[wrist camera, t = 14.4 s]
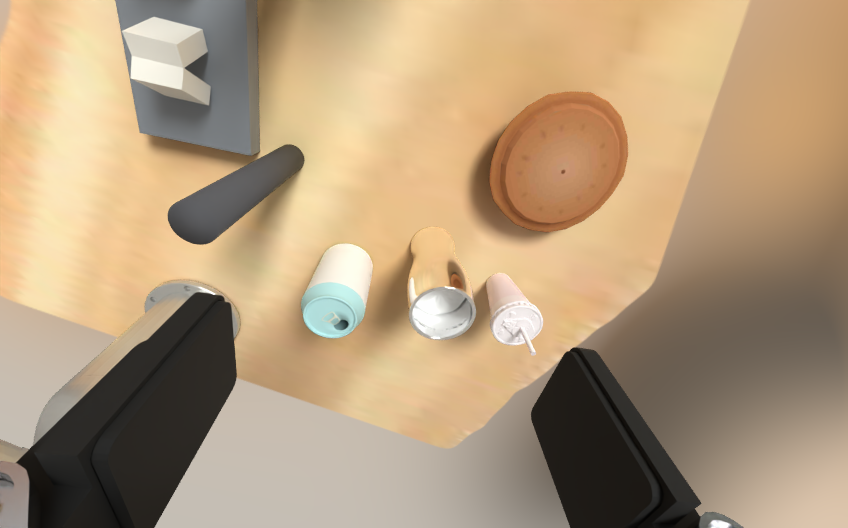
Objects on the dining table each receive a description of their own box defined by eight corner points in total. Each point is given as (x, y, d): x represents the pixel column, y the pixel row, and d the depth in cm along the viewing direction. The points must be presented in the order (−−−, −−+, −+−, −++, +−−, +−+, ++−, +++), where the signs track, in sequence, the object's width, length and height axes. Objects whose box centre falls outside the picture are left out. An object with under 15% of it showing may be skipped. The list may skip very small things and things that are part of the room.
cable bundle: (303, 173, 39) (220, 248, 22) (277, 167, 39) (171, 240, 21) (304, 147, 38) (216, 206, 20) (277, 141, 37) (164, 196, 20)
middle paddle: (207, 51, 31) (183, 68, 28) (161, 39, 30) (131, 56, 27) (202, 29, 29) (176, 44, 26) (153, 16, 29) (121, 30, 26)
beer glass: (408, 269, 46) (408, 343, 33) (406, 223, 43) (405, 286, 30) (457, 267, 47) (476, 340, 33) (458, 222, 43) (480, 283, 30)
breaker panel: (260, 151, 38) (250, 155, 36) (156, 129, 36) (139, 132, 34) (255, -84, 28) (242, -97, 26) (114, -127, 27) (88, -146, 24)
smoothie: (507, 305, 50) (539, 377, 38) (470, 295, 49) (490, 366, 37) (527, 271, 47) (569, 338, 35) (488, 259, 46) (516, 324, 34)
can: (376, 246, 44) (367, 298, 34) (369, 288, 48) (358, 347, 37) (324, 236, 43) (298, 286, 33) (320, 280, 47) (294, 338, 36)
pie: (524, 64, 35) (541, 62, 30) (637, 123, 38) (667, 129, 34) (462, 196, 42) (468, 209, 37) (563, 236, 45) (579, 252, 41)
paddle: (209, 105, 32) (181, 89, 28) (165, 95, 32) (130, 78, 27) (210, 86, 32) (183, 67, 28) (166, 76, 31) (131, 55, 27)
